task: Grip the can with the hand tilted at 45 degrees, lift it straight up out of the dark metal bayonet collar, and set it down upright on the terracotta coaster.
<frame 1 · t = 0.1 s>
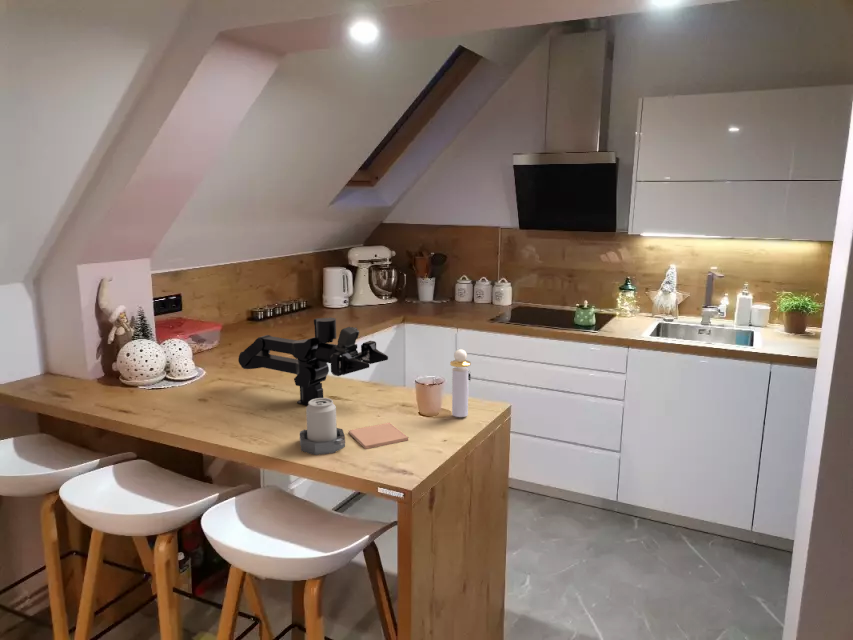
hand: (378, 361, 181), 17 cm above the counter, tool horizontal, fingers open, 9 cm apart
perfume bottle: (460, 417, 185), on the counter
coaster: (378, 436, 171), on the counter
can: (322, 446, 165), resting in collar
collar: (322, 445, 165), on the counter
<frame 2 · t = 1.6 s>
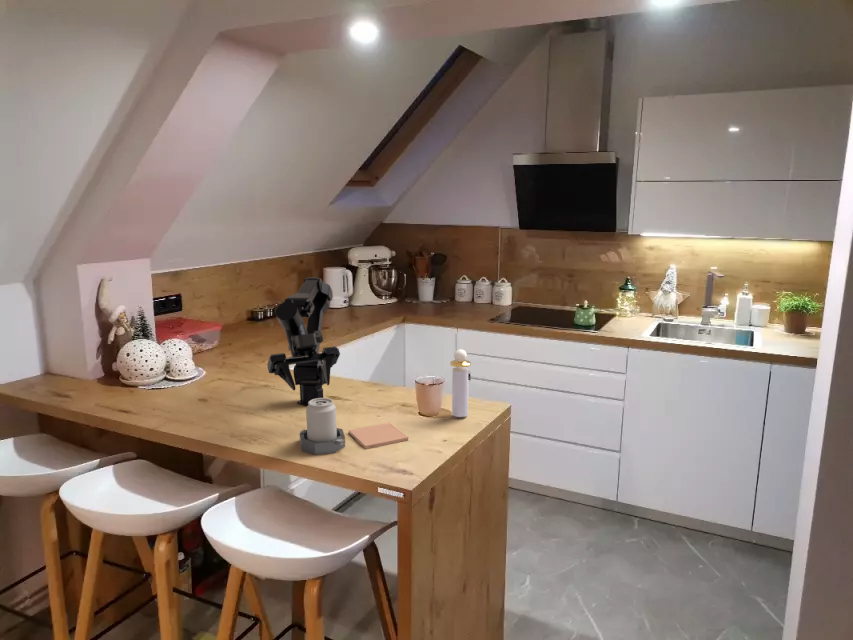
hand: (311, 387, 169), 14 cm above the counter, tool tilted 45°, fingers open, 9 cm apart
nothing on the counter moved.
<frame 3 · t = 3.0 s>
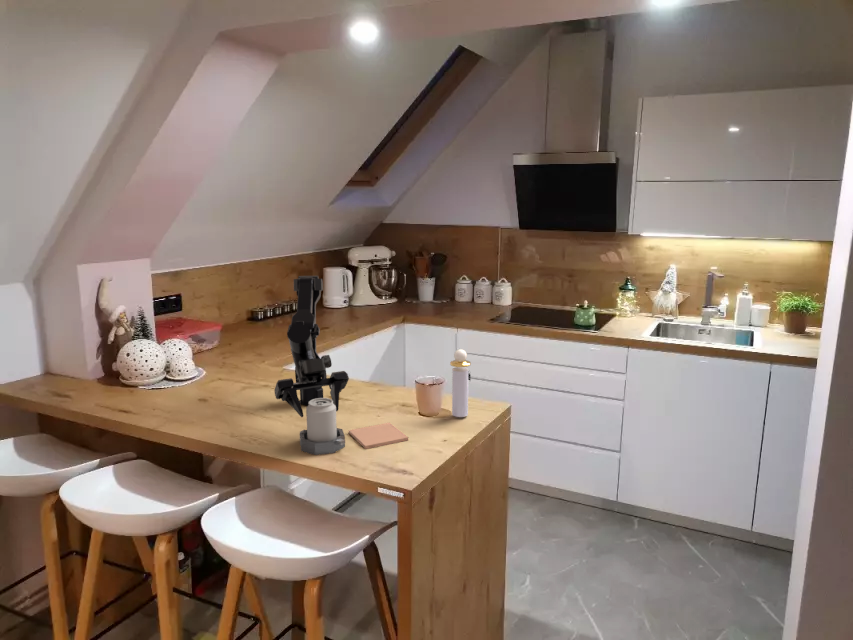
hand: (320, 413, 164), 8 cm above the counter, tool tilted 45°, fingers open, 9 cm apart
nothing on the counter moved.
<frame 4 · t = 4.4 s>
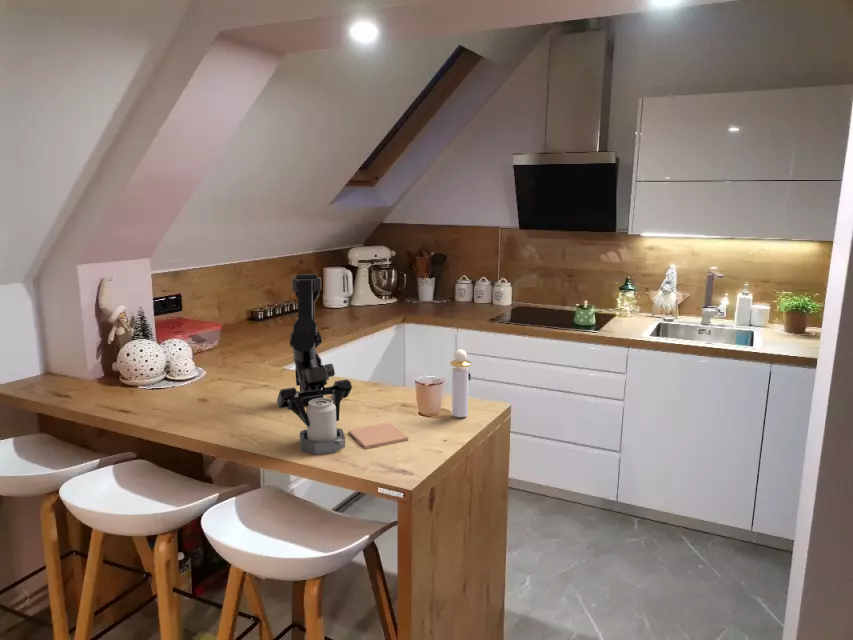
hand: (323, 423, 163), 7 cm above the counter, tool tilted 45°, fingers closed on can, 7 cm apart
can: (322, 446, 165), resting in collar, touching gripper
everything else where it was.
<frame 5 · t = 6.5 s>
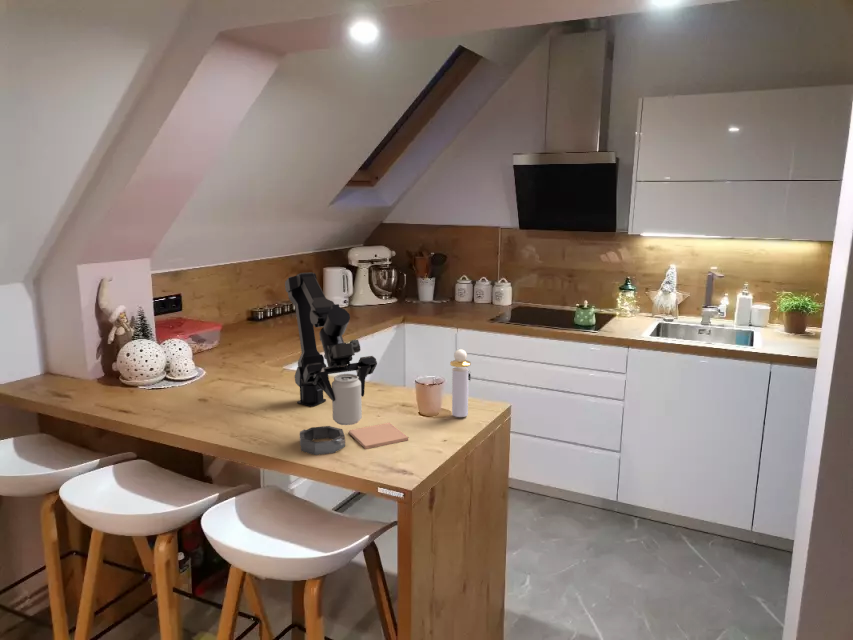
hand: (348, 398, 164), 12 cm above the counter, tool tilted 45°, fingers closed on can, 7 cm apart
can: (347, 421, 167), point 5 cm above the counter, touching gripper
everything else where it was.
when the fingers open (9 cm above the counter, at t = 8.9 s): can drops 1 cm, resting on coaster.
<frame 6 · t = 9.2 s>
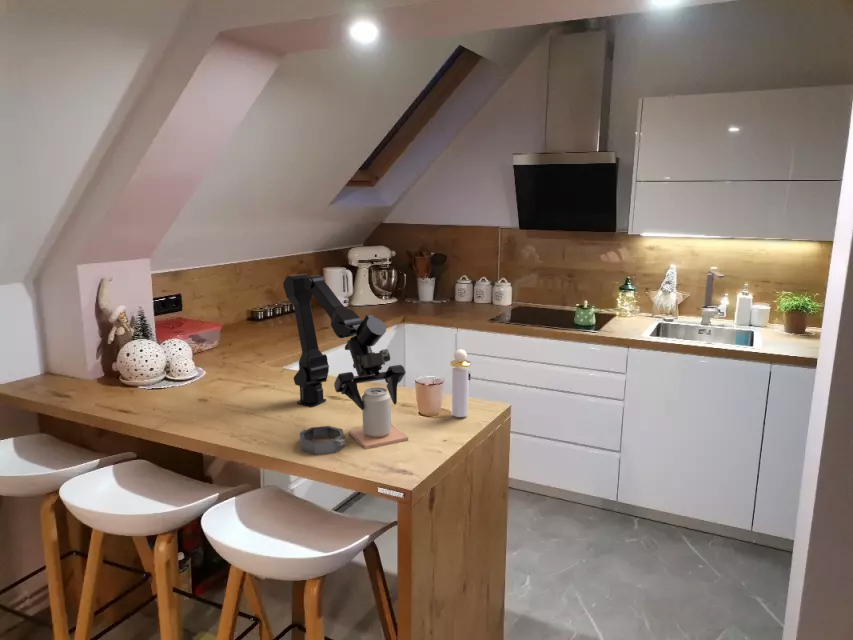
hand: (379, 406, 168), 9 cm above the counter, tool tilted 45°, fingers open, 9 cm apart
can: (377, 433, 171), point 1 cm above the counter, touching coaster
everything else where it was.
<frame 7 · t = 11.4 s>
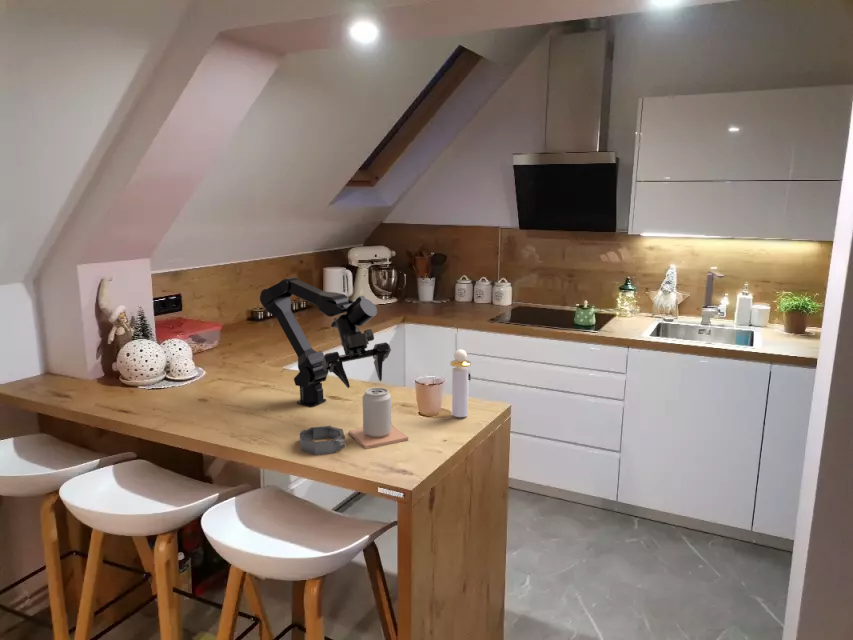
hand: (365, 383, 176), 12 cm above the counter, tool tilted 40°, fingers open, 9 cm apart
nothing on the counter moved.
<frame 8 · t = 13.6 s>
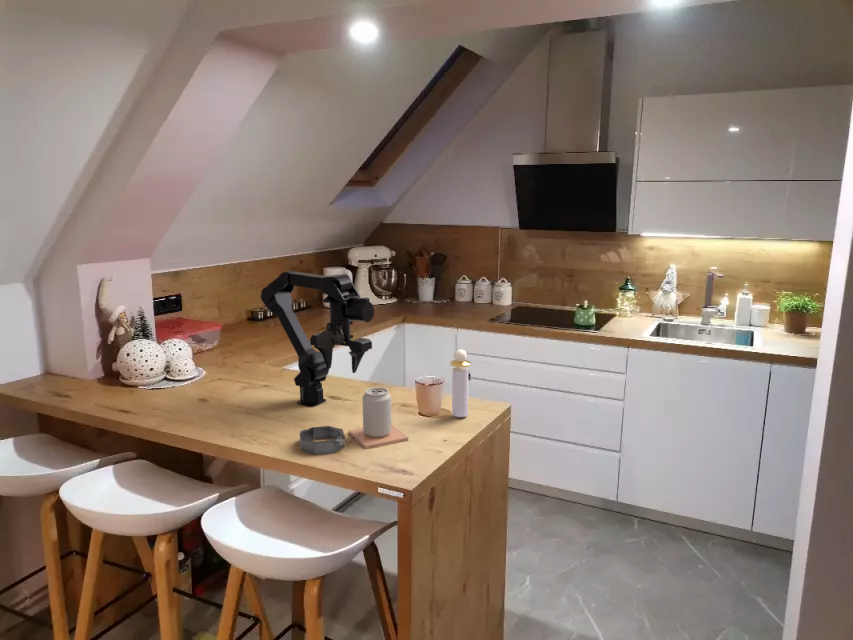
hand: (341, 370, 189), 12 cm above the counter, tool pointing down, fingers open, 9 cm apart
nothing on the counter moved.
at the end: can inside the target area on the coaster (0.2 cm from its centre), point 0.6 cm above the coaster's base; can tilted 0°; the gripper is holding nothing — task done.
